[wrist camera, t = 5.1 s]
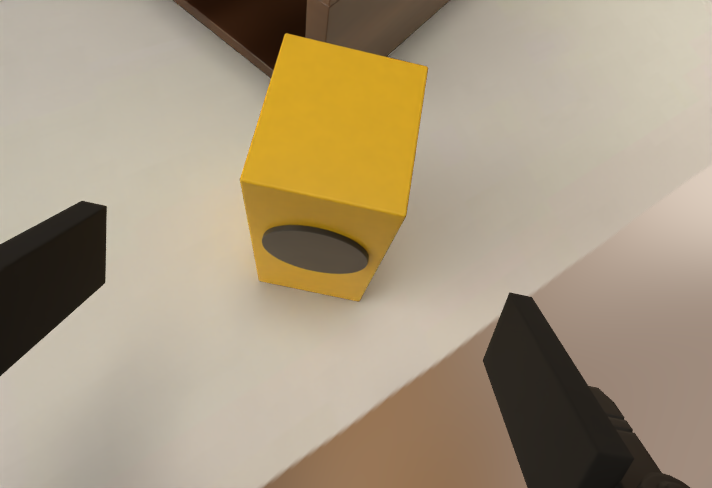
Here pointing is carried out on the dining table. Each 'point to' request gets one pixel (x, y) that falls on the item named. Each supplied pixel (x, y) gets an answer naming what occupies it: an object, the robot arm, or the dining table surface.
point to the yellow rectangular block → (331, 165)
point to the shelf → (311, 23)
